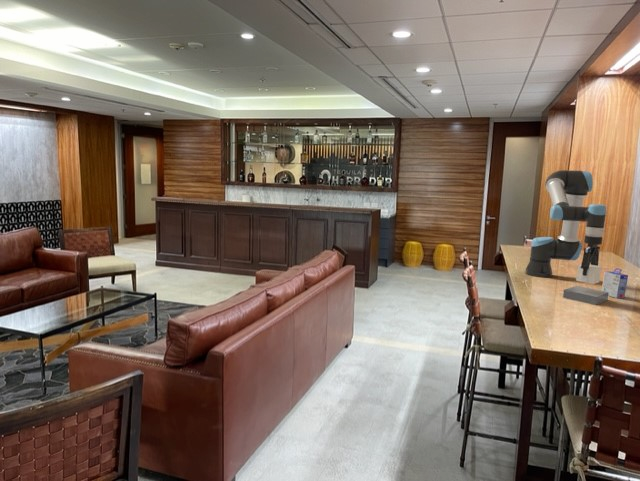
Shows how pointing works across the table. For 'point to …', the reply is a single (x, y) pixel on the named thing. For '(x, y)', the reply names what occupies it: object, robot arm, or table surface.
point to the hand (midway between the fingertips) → (587, 280)
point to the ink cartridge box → (615, 283)
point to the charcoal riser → (585, 295)
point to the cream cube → (590, 274)
